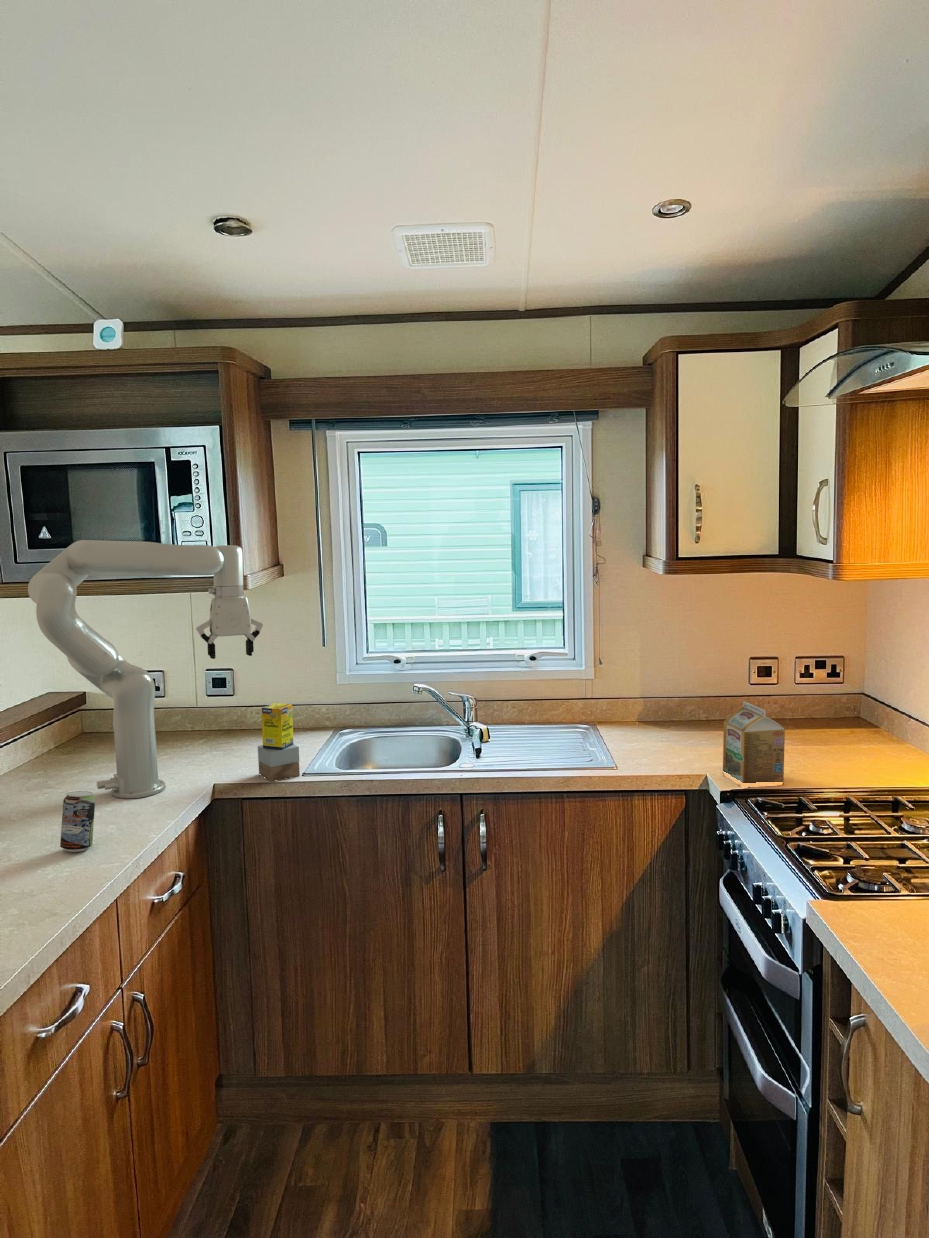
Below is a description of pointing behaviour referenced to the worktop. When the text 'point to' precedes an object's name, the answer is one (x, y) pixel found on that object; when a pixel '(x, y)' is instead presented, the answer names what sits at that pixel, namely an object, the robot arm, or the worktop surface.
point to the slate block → (278, 755)
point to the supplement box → (277, 726)
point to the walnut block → (279, 771)
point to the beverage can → (77, 821)
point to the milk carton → (753, 746)
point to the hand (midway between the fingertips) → (231, 656)
